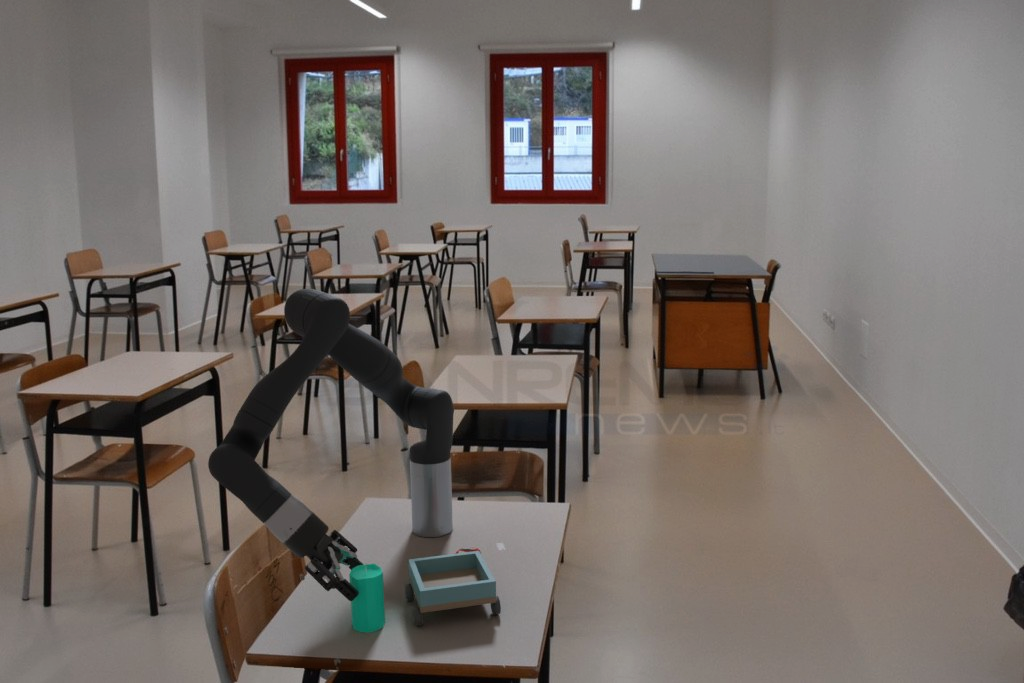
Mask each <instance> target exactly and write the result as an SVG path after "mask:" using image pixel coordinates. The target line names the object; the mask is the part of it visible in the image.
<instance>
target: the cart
mask: <svg viewBox="0 0 1024 683" xmlns="http://www.w3.org/2000/svg"><path fill="white" fill-rule="evenodd" d="M480 552H481V551H480ZM480 552H479V551H473V552H465V553H457V554H455V553H451V554H443V555H436V556H435V555H433V556H425V557H418V558H417V557H416V558H411V559H410V558H409V559H407V560H408V580H409V583H405V584H404V585H405V586H404V588H405V599H406V601H407V602H410V601H414V600H416V602H417V605H418V606H416V607H413V608H412V610H413V611H412V613H413V614H412V615H413V622H414V626H421V625H423V622H424V621H423V620H424V619H423V613H424V614H425V613H431V612H436V611H443V610H444V611H445V610H452V609H460V608H467V607H473V606H474V607H475V606H481V605H488V604H490V609H491V613H492V615H500V614H501V611H502V610H501V609H502V608H501V601H500V597H499V595H497V580H496V578H495V577H494V576H493V573H492V571H491V570H490V568H489V566H488V564H487V563H486V561H485V559H484V558H483V555H482V553H481V554H480Z"/></svg>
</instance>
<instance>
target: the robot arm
mask: <svg viewBox="0 0 1024 683" xmlns="http://www.w3.org/2000/svg"><path fill="white" fill-rule="evenodd" d="M283 307H284V310H283V311H284V312H283V314H284V318H285V322H286V323H287V326H288V327H289V328H290V331H292V332H294V333H295V334H297V335H298V336H299V337H300V336H301V337H302V340H301V342H300V343H299V345H298V346H297V348H296V349H295V350H294V351H293V352H292V353H291V354H290V355H289V356H288V357H287V358H286V359H285V360H284V361H282V363H280V364H279V365H277V366H276V367H275V368H274V369H272V370H271V371H270V372H268V373H266V375H265V376H263V377H262V378H261V379H260V380H259V381H258V382H257V383H256V384H255V386H253V388H252V389H251V390H250V392H249V393H248V395H247V397H246V399H244V402H243V404H241V407H240V409H239V410H238V412H237V413H236V416H235V418H234V420H233V424H232V426H231V428H230V429H229V430H228V432H227V434H226V435H225V437H224V438H223V440H222V442H221V443H220V445H219V446H218V447H216V448H215V449H214V450H213V451H212V452H211V453H210V455H209V458H208V462H207V465H208V466H207V467H208V470H209V473H210V475H211V476H212V477H213V479H215V480H216V481H217V482H218V484H220V485H221V486H223V487H224V488H225V489H226V490H227V491H228V492H230V493H231V494H233V496H235V497H236V498H237V499H238V500H240V501H241V502H242V503H243V504H244V505H245V506H246V508H247V509H248V510H249V511H250V512H251V513H252V514H253V515H254V516H255V517H256V518H257V519H258V520H259V521H260V522H261V523H262V524H264V525H265V526H266V528H267V529H268V530H269V532H270V533H272V534H273V536H274V537H276V538H277V539H278V540H279V541H280V542H281V543H282V544H283V545H284V546H285V547H287V549H288V550H289V551H291V552H292V553H293V554H294V555H295V556H296V557H297V558H298V559H302V558H304V557H307V558H308V559H309V562H308V563H307V564H306V565H305V566H304V569H305V571H306V572H307V573H308V574H309V575H310V576H311V577H312V578H313V579H314V580H315V581H316V582H317V583H318V584H319V585H320V586H321V587H322V588H323V589H324V590H325V591H326V592H329V591H330V590H332V589H333V590H337V591H338V592H339V593H340V594H342V596H343V597H345V599H347V600H348V601H349V602H351V601H353V600H354V599H355V598H356V597H357V596H358V594H359V591H358V590H357V589H356V588H354V587H353V586H352V585H351V584H350V581H348V580H347V579H346V578H344V576H343V575H342V572H341V570H340V569H341V566H340V564H341V565H344V566H347V567H348V569H350V571H351V570H352V569H353V568H354V567H356V566H358V565H365V564H364V563H363V562H362V561H361V560H360V559H359V558H358V555H357V552H358V549H357V547H356V546H354V545H353V543H351V542H350V541H349V540H348V539H347V538H345V536H343V535H342V534H341V533H340V532H339V531H338V530H336V529H333V530H332V531H331V532H330V533H329V534H328V535H327V533H328V531H329V529H330V528H329V525H327V523H325V522H324V521H323V520H322V518H320V517H319V516H318V515H316V513H315V512H313V511H312V510H311V509H310V508H309V507H308V506H307V505H306V504H305V503H304V502H303V501H302V500H300V499H298V498H297V497H296V496H294V495H293V494H292V493H291V492H290V491H289V490H288V489H287V488H285V487H284V485H283V484H281V483H280V482H279V481H278V480H276V479H275V478H274V477H272V476H270V475H269V473H267V472H266V471H265V469H263V467H262V466H261V465H260V464H259V463H258V462H257V461H256V459H257V457H258V454H259V453H260V451H261V449H262V447H263V445H264V443H265V441H266V440H267V439H268V438H269V436H270V435H271V434H272V432H273V431H274V428H275V427H276V426H277V424H278V422H279V420H281V418H282V416H283V415H284V413H285V411H286V409H287V408H288V406H289V405H290V403H291V401H292V400H293V398H294V396H295V395H296V394H297V393H298V391H299V390H300V389H301V387H302V386H303V385H304V384H305V383H306V381H307V379H309V377H311V375H312V374H313V373H314V372H315V370H316V369H317V368H318V367H319V365H320V364H321V363H322V362H323V360H325V359H326V357H327V356H329V357H330V358H331V359H332V360H333V361H334V362H335V363H336V364H337V365H339V366H340V367H341V368H342V369H343V370H344V371H345V372H347V374H349V375H350V376H351V377H352V378H353V379H354V380H356V381H357V383H359V384H360V385H362V386H363V387H364V388H365V389H367V390H369V391H370V392H371V393H372V394H373V395H374V396H376V397H377V398H379V399H380V400H381V401H382V402H384V403H385V404H386V405H387V406H389V408H390V409H391V410H392V412H394V414H395V415H396V416H397V417H398V418H399V419H400V420H401V421H402V422H403V423H404V424H405V425H407V426H409V427H411V428H414V429H419V430H425V431H426V435H425V440H420V441H418V442H415V443H413V444H411V446H410V447H409V452H408V453H409V456H408V457H409V472H410V496H411V497H410V498H411V499H410V500H411V503H410V504H411V526H412V527H411V528H412V533H413V534H414V535H416V536H418V537H423V538H438V537H443V536H446V535H448V534H450V533H451V532H452V531H453V529H454V528H453V496H452V492H453V490H452V487H453V485H452V463H451V461H452V457H451V455H452V454H451V452H452V446H453V441H454V440H453V439H454V403H453V399H452V396H451V394H449V392H448V391H445V390H443V389H438V388H436V389H435V388H429V387H421V386H417V385H415V384H413V383H412V382H410V381H409V380H408V379H406V378H405V377H404V376H403V375H404V373H403V372H404V371H403V366H402V363H401V360H400V359H399V357H398V356H397V355H396V354H395V353H394V351H392V350H391V349H390V348H389V347H387V345H385V344H384V343H383V342H382V341H380V340H379V339H377V338H375V337H374V336H373V335H370V334H369V333H367V332H365V331H363V330H362V329H360V328H359V327H356V326H354V325H352V324H350V319H351V311H350V307H349V305H348V303H347V302H346V301H345V299H342V298H341V297H338V296H336V295H333V294H329V293H327V292H324V291H321V290H318V289H314V288H301V289H298V290H295V291H294V292H292V294H290V295H289V296H288V298H287V299H286V301H285V304H284V306H283ZM325 579H326V580H325Z"/></svg>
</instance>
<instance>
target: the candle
mask: <svg viewBox="0 0 1024 683" xmlns="http://www.w3.org/2000/svg"><path fill="white" fill-rule="evenodd" d="M383 572H384V571H383V569H382V567H381V566H379V565H377V564H376V563H369V564H368V563H365V564H364V565H358V566H356V567H354V568H353V569H352V570H351V569H350V572H349V583H350V584H351V585H352V586H353V587H354V588H356V589H357V590H358V591H359V594H358V596H357V597H356V598H355V599H354V600H353V601H350V609H351V626H352V628H353V630H355V631H357V632H360V633H372V632H377V631H378V630H379V631H380V629H382V628H384V626H385V624H386V615H385V614H386V613H385V595H384V594H385V592H384V591H385V590H384V588H385V587H384V573H383Z"/></svg>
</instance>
